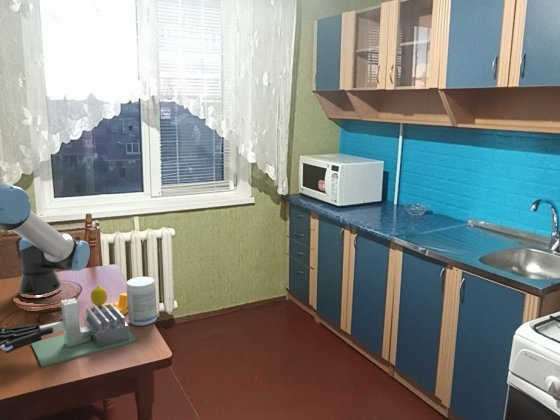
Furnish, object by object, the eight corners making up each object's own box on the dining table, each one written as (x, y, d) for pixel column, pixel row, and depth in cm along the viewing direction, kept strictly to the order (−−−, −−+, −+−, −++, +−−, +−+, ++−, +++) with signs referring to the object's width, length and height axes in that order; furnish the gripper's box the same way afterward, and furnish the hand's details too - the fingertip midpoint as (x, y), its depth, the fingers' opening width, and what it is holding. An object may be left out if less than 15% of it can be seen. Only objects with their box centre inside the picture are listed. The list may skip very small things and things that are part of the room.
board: (31, 344, 153) (31, 342, 153) (120, 322, 170) (120, 320, 170) (41, 367, 141) (41, 365, 141) (136, 340, 157) (136, 339, 157)
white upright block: (64, 342, 153) (60, 300, 150) (87, 336, 158) (84, 295, 154) (67, 347, 150) (63, 305, 147) (91, 341, 154) (87, 300, 151)
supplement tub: (162, 318, 173) (161, 279, 170) (143, 329, 165) (141, 288, 162) (142, 312, 178) (140, 274, 174) (122, 322, 170) (120, 282, 166)
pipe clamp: (118, 309, 180) (118, 292, 179) (129, 310, 179) (129, 293, 178) (100, 321, 168) (99, 304, 167) (112, 323, 167) (111, 305, 166)
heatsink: (75, 333, 160) (73, 310, 158) (115, 323, 168) (113, 301, 166) (87, 351, 149) (85, 327, 147) (129, 339, 157) (128, 316, 155)
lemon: (107, 302, 185) (106, 282, 183) (107, 308, 180) (106, 288, 178) (91, 304, 184) (90, 284, 182) (91, 310, 178) (89, 289, 177)
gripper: (-27, 349, 143) (59, 328, 156) (-23, 369, 132) (69, 345, 146) (-30, 326, 141) (57, 307, 155) (-26, 344, 131) (67, 322, 144)
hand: (63, 325), depth 150 cm, fingers closed
